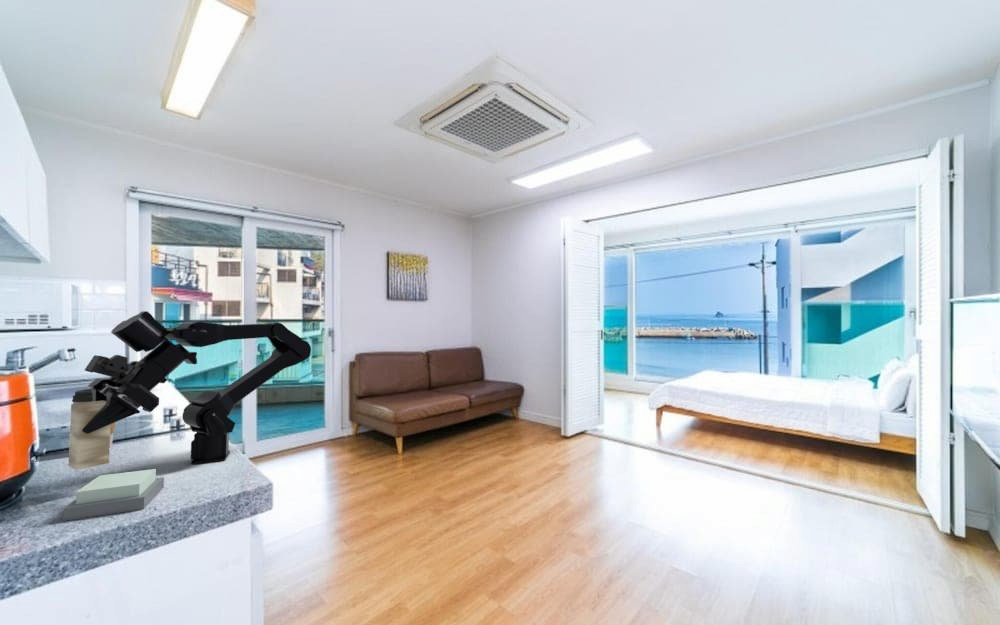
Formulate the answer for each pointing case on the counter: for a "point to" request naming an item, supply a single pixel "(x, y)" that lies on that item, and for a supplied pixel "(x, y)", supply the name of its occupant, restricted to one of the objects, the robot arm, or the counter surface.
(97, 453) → the pillar
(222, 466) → the counter surface
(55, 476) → the counter surface
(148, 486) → the tower base
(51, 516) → the counter surface
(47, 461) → the counter surface
